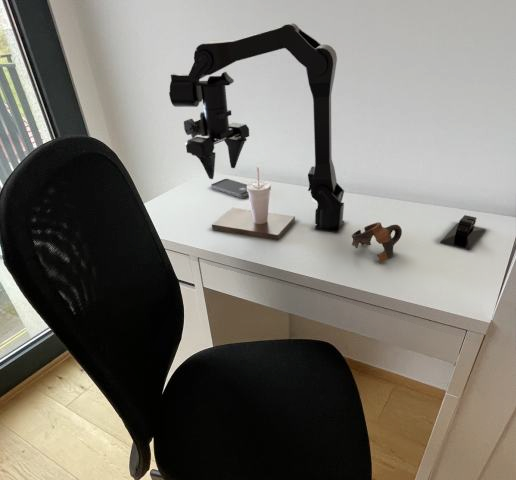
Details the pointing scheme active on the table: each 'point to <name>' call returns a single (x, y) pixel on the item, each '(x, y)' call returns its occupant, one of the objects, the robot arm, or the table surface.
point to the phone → (231, 187)
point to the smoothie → (259, 199)
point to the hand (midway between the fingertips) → (222, 173)
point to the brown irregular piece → (378, 238)
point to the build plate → (463, 233)
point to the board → (253, 224)
